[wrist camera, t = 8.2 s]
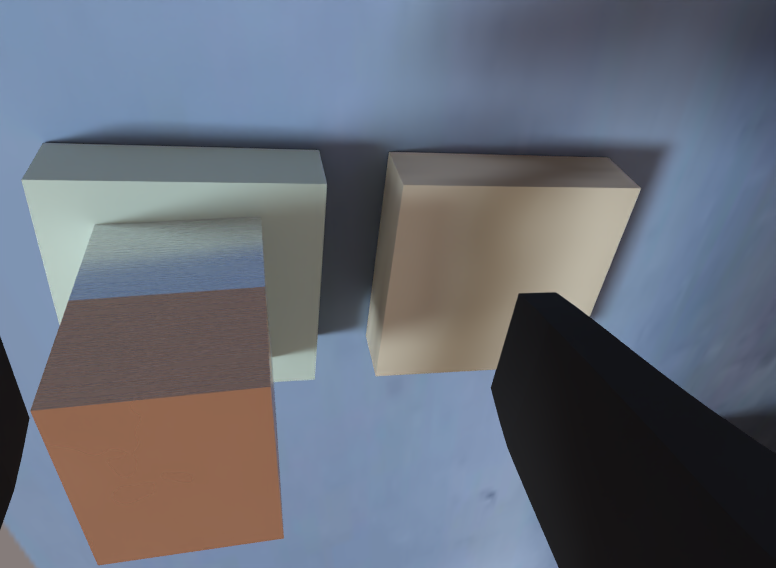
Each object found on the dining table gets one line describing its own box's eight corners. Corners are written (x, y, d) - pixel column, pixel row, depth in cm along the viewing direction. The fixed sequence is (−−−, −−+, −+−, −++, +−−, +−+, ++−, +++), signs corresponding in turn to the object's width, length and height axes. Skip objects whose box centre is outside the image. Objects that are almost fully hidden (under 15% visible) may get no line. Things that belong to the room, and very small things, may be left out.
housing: (272, 357, 19) (283, 538, 14) (133, 370, 18) (97, 565, 13) (261, 216, 16) (270, 386, 11) (94, 224, 15) (30, 411, 10)
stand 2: (608, 157, 19) (641, 188, 18) (548, 327, 23) (570, 365, 22) (389, 152, 18) (403, 185, 16) (365, 335, 22) (375, 376, 20)
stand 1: (319, 150, 17) (326, 184, 16) (309, 338, 21) (314, 379, 20) (43, 142, 16) (22, 179, 14) (90, 346, 20) (77, 393, 18)
